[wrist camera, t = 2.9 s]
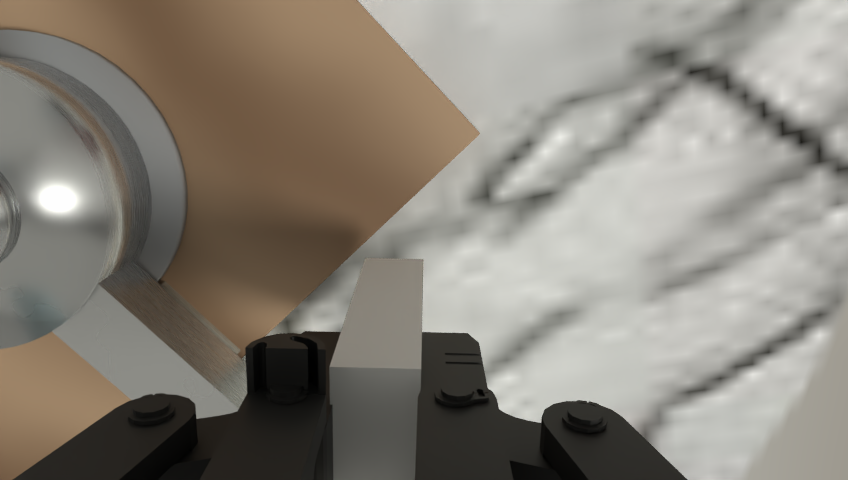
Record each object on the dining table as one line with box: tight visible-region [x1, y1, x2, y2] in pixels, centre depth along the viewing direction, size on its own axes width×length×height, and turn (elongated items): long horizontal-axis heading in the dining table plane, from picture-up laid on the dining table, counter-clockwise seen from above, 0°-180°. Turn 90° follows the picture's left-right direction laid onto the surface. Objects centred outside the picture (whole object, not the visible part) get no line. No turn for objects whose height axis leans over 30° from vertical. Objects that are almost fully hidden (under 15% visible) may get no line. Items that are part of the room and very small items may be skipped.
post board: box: [0, 0, 480, 480], centre depth 18 cm, size 20×15×4 cm
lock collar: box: [0, 57, 247, 419], centre depth 17 cm, size 7×17×3 cm, turn 44°
